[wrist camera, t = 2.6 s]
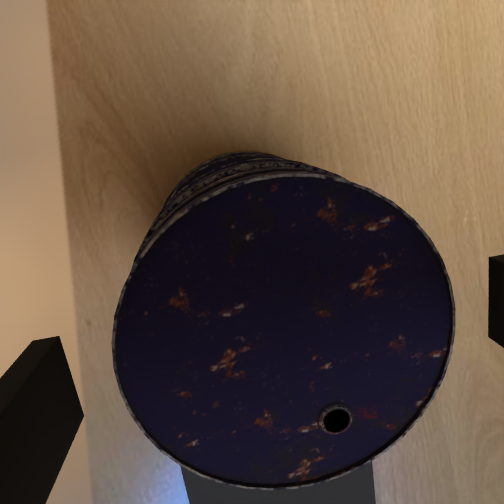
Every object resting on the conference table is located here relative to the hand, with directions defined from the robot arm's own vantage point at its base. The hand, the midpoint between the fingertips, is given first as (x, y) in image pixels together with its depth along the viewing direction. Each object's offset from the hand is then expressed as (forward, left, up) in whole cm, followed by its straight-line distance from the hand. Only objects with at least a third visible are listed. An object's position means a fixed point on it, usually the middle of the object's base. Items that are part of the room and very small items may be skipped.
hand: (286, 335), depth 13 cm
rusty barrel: (0, 0, -14) cm, 14 cm away
